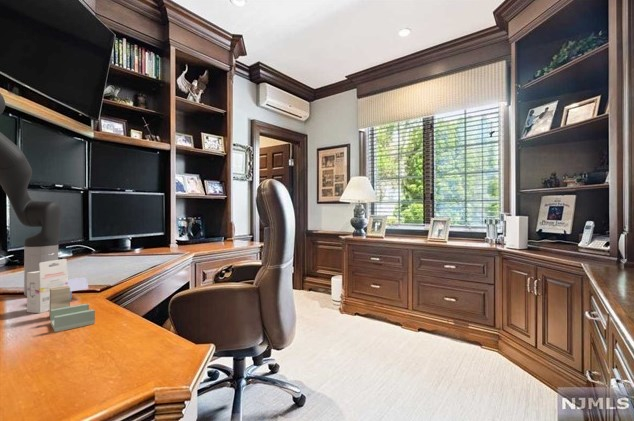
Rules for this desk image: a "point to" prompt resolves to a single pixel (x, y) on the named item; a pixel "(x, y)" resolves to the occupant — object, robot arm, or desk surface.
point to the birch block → (59, 297)
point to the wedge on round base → (77, 284)
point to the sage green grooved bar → (71, 317)
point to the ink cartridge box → (45, 284)
